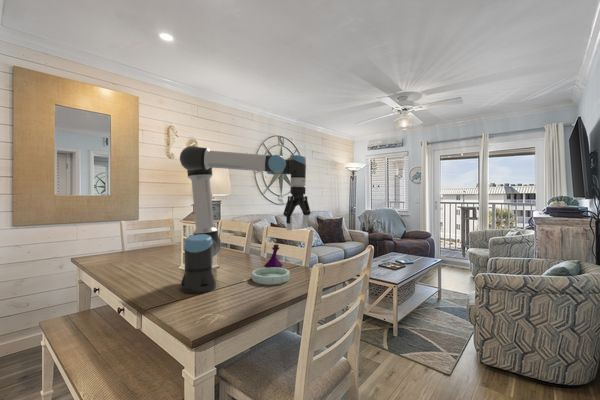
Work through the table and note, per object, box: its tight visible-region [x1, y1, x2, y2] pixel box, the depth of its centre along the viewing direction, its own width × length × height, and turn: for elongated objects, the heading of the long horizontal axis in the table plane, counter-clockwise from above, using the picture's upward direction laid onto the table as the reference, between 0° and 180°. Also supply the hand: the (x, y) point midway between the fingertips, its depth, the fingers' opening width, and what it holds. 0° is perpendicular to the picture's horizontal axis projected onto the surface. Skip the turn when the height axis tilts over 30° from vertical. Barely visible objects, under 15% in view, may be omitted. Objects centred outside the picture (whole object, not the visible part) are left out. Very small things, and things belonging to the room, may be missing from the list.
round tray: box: [251, 267, 291, 286], centre depth 145 cm, size 18×18×4 cm
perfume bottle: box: [263, 238, 283, 268], centre depth 160 cm, size 8×8×18 cm
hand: (297, 228), depth 145 cm, fingers open, 13 cm apart
